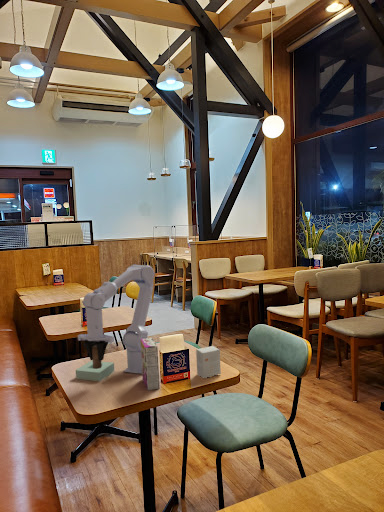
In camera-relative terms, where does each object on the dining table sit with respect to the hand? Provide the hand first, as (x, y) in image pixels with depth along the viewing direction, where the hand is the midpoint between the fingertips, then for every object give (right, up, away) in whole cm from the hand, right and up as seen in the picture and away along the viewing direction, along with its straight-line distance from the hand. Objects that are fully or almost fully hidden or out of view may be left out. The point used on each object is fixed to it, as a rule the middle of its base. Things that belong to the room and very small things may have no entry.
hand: (96, 359), depth 144 cm
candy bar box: (+20, -10, 0) cm, 23 cm away
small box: (+43, -8, +7) cm, 44 cm away
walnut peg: (0, -3, 0) cm, 3 cm away
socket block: (-3, -9, +11) cm, 15 cm away
